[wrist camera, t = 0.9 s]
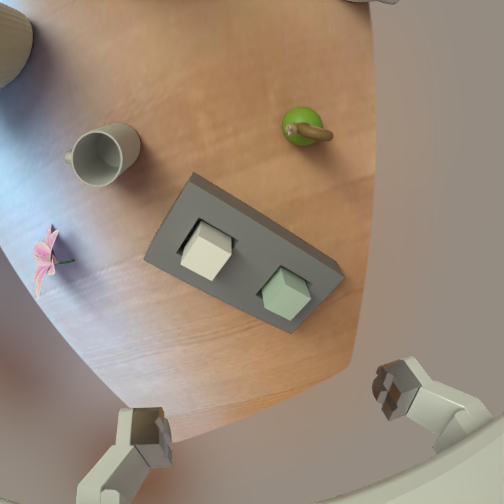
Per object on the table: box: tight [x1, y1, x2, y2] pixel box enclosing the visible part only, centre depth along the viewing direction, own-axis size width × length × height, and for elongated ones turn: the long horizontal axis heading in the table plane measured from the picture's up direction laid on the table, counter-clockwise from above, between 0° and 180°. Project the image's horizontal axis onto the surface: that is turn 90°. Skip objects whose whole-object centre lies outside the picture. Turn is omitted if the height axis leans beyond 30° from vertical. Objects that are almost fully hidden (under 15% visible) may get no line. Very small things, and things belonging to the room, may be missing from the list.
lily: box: [34, 225, 75, 299], centre depth 45 cm, size 12×12×10 cm
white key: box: [180, 221, 232, 281], centre depth 44 cm, size 5×5×5 cm
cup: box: [64, 123, 141, 187], centre depth 37 cm, size 7×10×9 cm
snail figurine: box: [282, 107, 333, 146], centre depth 37 cm, size 5×6×12 cm
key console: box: [143, 172, 345, 334], centre depth 49 cm, size 14×28×5 cm, turn 55°
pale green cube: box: [261, 266, 311, 321], centre depth 49 cm, size 5×5×5 cm
